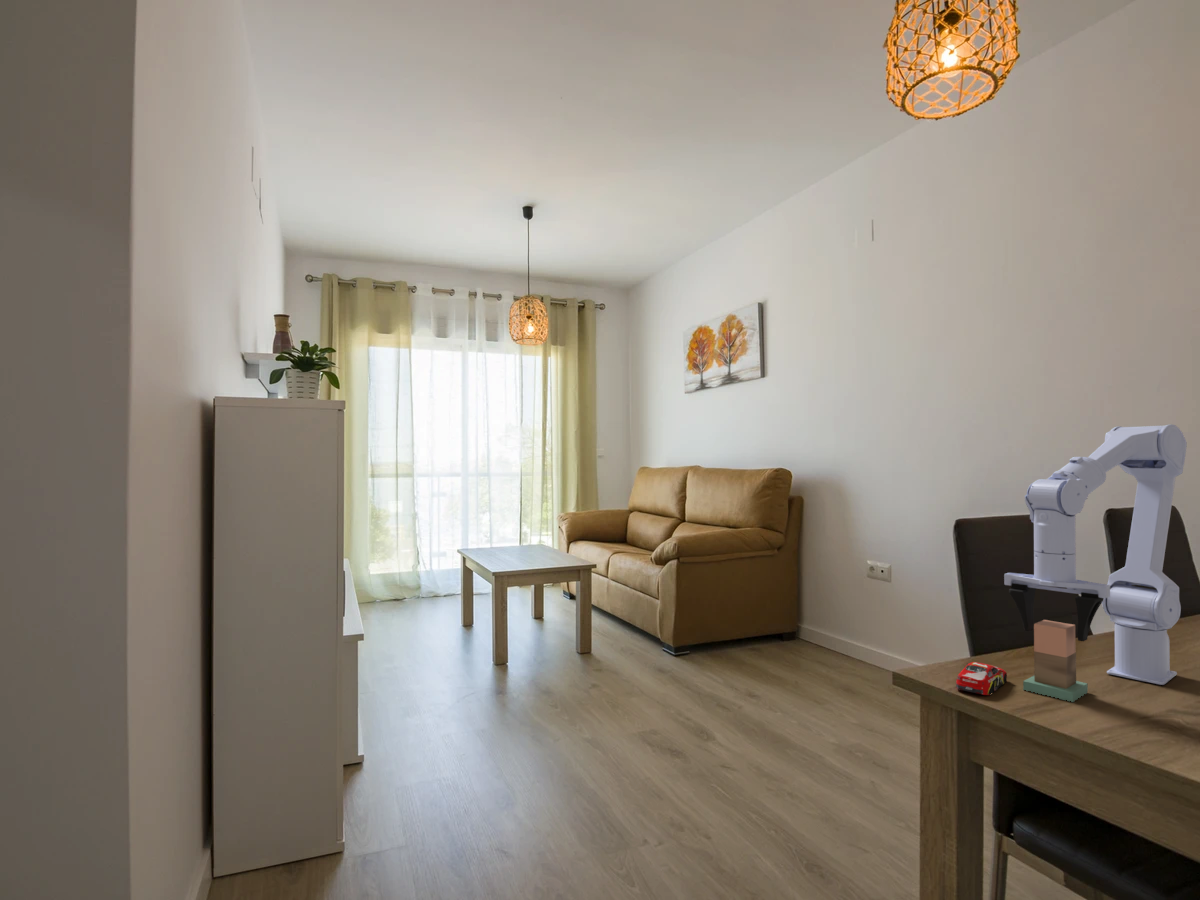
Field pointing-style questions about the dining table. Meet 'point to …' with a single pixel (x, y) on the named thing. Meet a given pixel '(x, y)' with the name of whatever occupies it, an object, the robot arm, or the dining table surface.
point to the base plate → (1056, 689)
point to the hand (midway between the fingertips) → (1055, 635)
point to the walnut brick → (1055, 669)
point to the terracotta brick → (1054, 638)
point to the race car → (980, 678)
